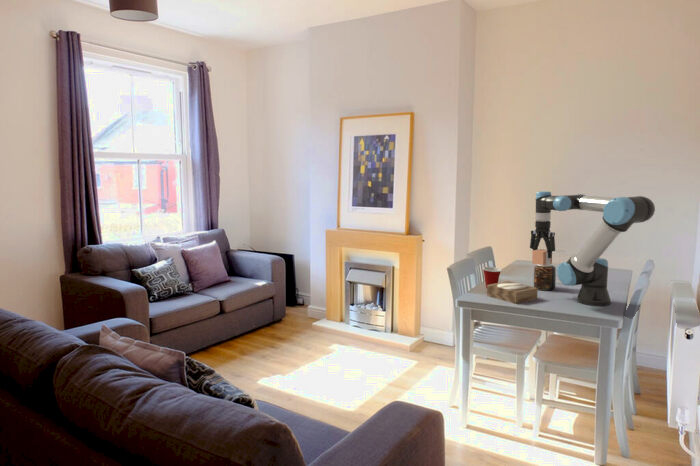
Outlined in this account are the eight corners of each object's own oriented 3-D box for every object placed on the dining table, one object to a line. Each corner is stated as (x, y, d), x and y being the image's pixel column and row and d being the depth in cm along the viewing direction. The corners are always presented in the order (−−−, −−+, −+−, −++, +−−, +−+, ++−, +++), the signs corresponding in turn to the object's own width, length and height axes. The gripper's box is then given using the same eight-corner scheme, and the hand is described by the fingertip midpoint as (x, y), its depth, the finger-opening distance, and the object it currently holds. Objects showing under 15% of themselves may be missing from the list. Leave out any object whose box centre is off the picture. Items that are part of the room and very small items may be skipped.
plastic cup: (499, 291, 275) (499, 270, 274) (480, 289, 281) (480, 269, 279) (503, 287, 285) (503, 267, 283) (484, 285, 290) (484, 265, 289)
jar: (557, 291, 273) (558, 264, 271) (535, 290, 275) (535, 264, 274) (553, 286, 285) (553, 261, 283) (532, 285, 287) (532, 260, 285)
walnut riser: (537, 299, 258) (537, 287, 257) (515, 303, 250) (516, 291, 249) (507, 291, 275) (507, 280, 274) (487, 295, 267) (487, 284, 266)
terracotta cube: (551, 263, 262) (552, 250, 261) (543, 265, 258) (543, 252, 257) (540, 261, 268) (541, 249, 267) (532, 263, 264) (532, 250, 263)
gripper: (563, 221, 253) (562, 264, 256) (532, 218, 271) (531, 259, 273) (554, 222, 250) (553, 266, 253) (523, 219, 267) (522, 261, 270)
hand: (542, 262), depth 263 cm, fingers closed on terracotta cube, 7 cm apart
